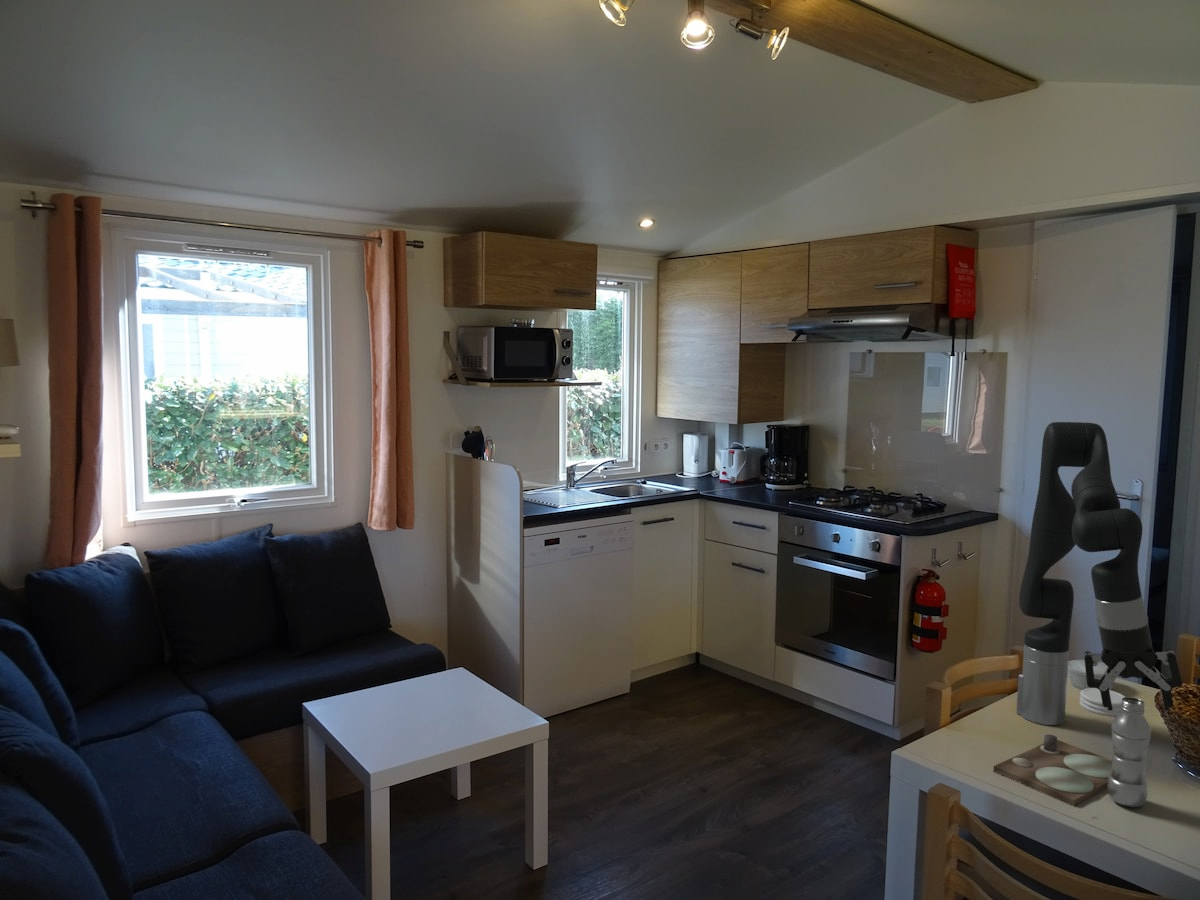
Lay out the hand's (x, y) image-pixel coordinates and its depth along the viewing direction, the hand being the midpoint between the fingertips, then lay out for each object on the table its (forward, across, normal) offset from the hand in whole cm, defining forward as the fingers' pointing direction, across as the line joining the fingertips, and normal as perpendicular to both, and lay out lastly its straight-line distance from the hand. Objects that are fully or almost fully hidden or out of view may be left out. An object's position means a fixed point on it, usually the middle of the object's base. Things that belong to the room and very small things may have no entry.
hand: (1137, 708), depth 147 cm
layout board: (+20, +15, -15) cm, 29 cm away
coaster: (+26, +7, -56) cm, 62 cm away
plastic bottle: (+22, +4, -7) cm, 24 cm away
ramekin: (+26, +9, -71) cm, 77 cm away
